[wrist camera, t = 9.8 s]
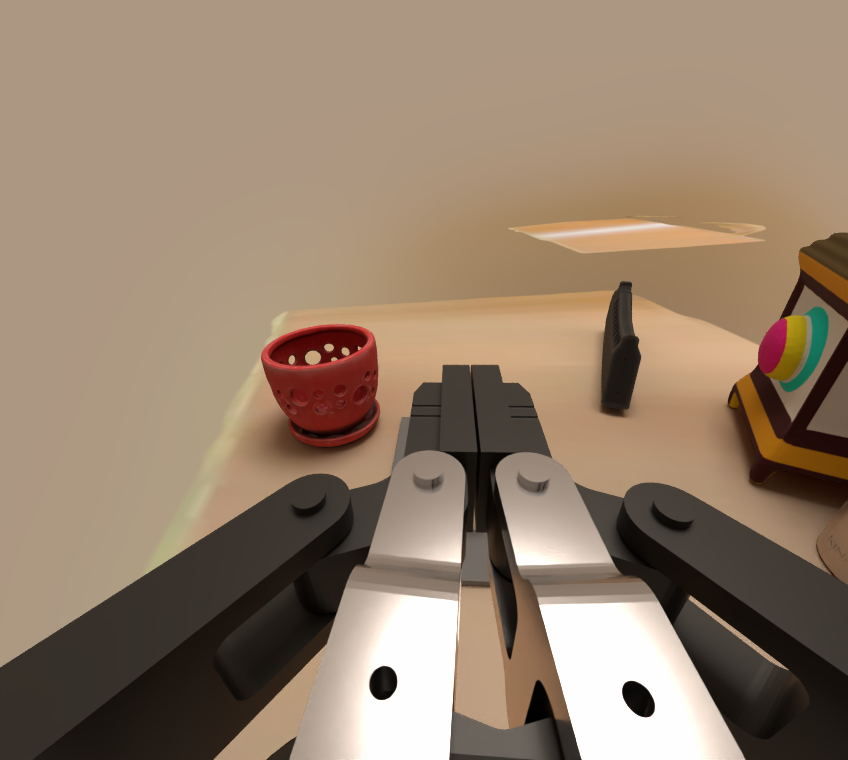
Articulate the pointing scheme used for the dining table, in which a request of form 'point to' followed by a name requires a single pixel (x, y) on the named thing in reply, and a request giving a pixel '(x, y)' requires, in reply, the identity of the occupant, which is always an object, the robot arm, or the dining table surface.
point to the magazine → (619, 351)
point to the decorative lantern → (803, 375)
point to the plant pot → (325, 383)
